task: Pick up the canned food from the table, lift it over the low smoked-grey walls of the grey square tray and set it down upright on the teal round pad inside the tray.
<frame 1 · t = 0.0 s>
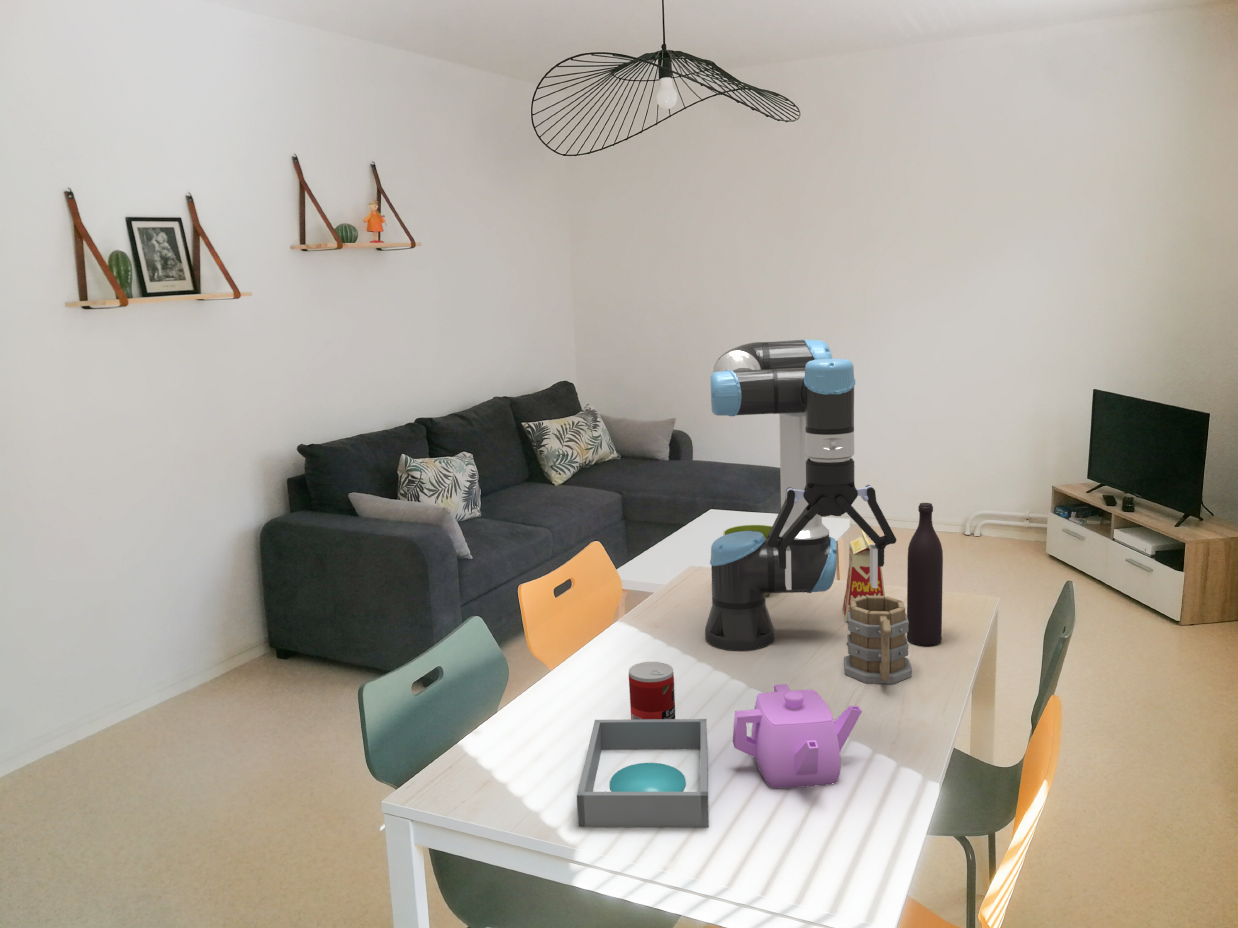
hand: (830, 586, 151), 28 cm above the table, tool pointing down, fingers open, 13 cm apart
grey square tray: (647, 783, 147), on the table
teakettle: (798, 767, 150), on the table
milk carton: (864, 617, 215), on the table
canned food: (653, 728, 166), on the table
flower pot: (754, 594, 234), on the table
tankard: (878, 679, 182), on the table
wine bottle: (924, 641, 199), on the table
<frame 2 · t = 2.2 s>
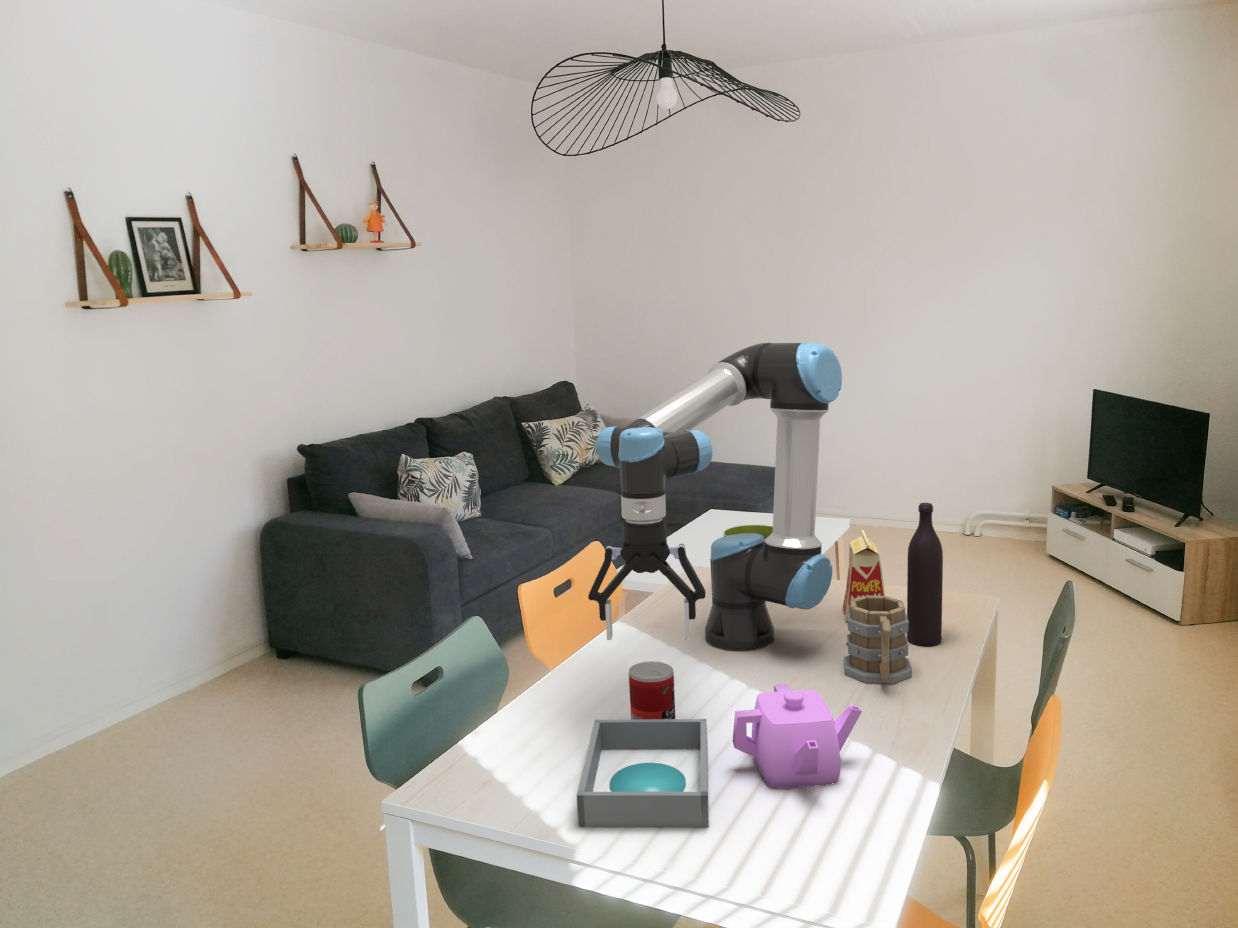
hand: (648, 637, 163), 17 cm above the table, tool pointing down, fingers open, 13 cm apart
nothing on the table moved.
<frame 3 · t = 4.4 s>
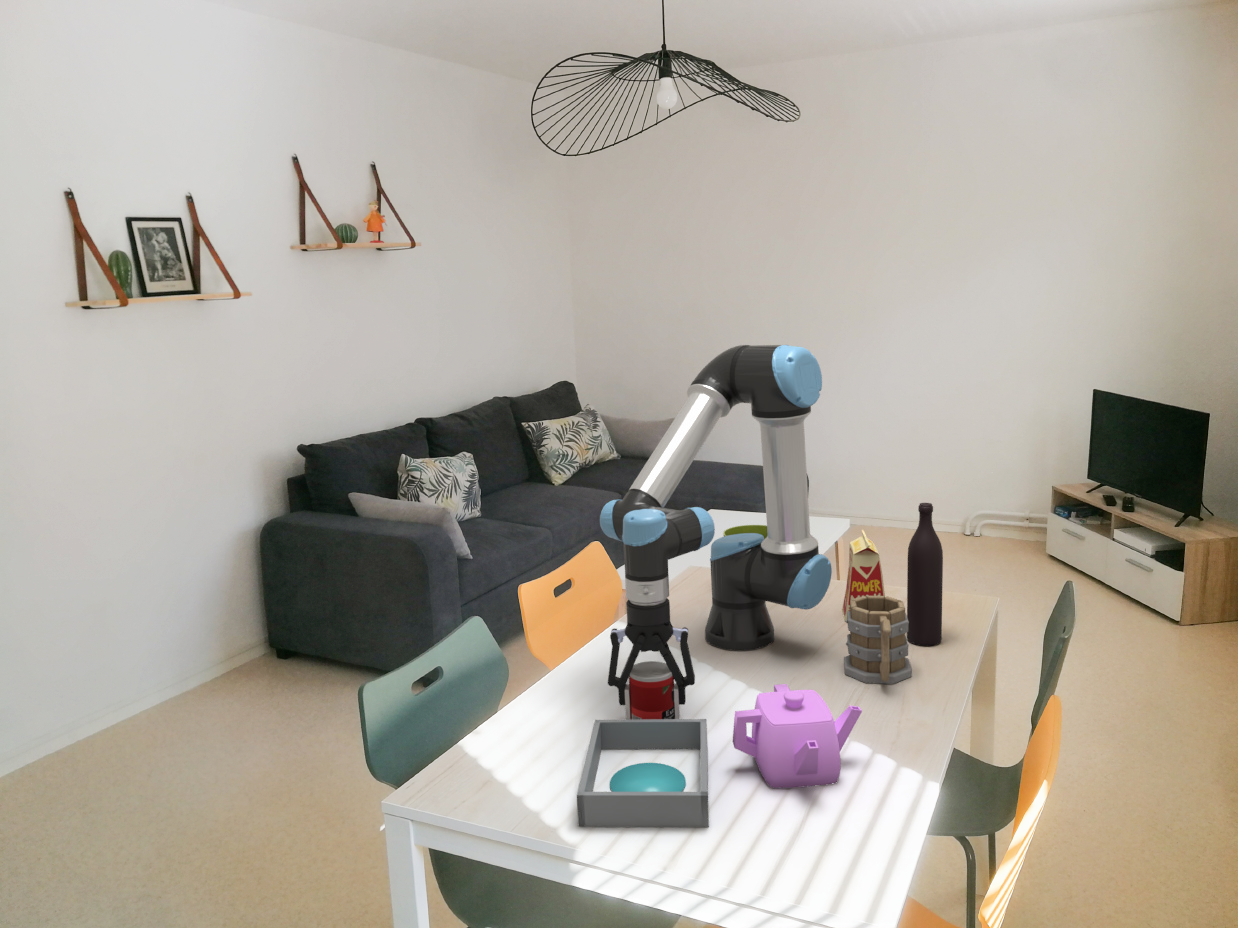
hand: (653, 720, 166), 1 cm above the table, tool pointing down, fingers closed on canned food, 8 cm apart
canned food: (653, 728, 166), on the table, touching gripper
everything else where it was.
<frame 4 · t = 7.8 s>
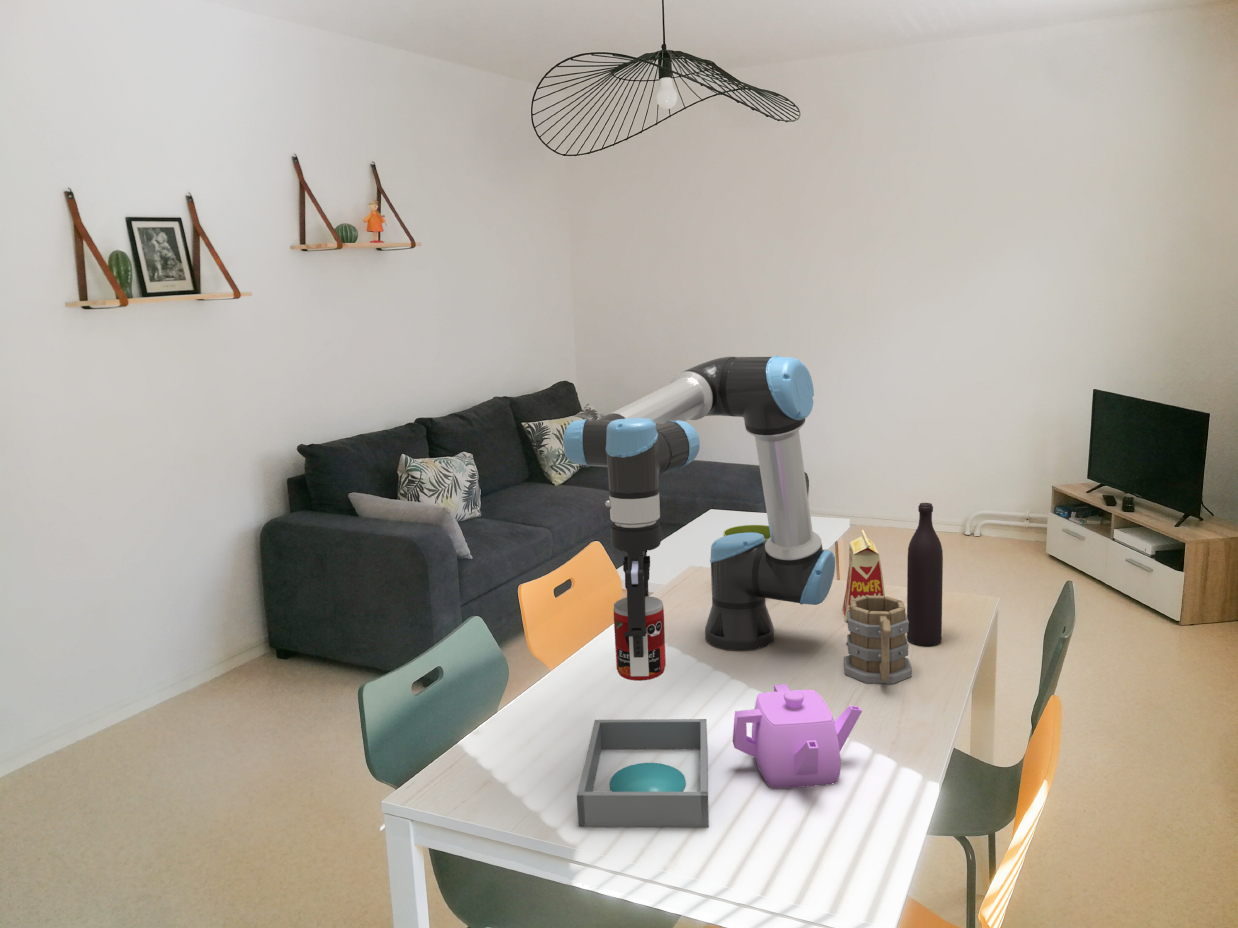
hand: (641, 663, 144), 20 cm above the table, tool pointing down, fingers closed on canned food, 8 cm apart
canned food: (641, 672, 145), point 18 cm above the table, touching gripper
everything else where it was.
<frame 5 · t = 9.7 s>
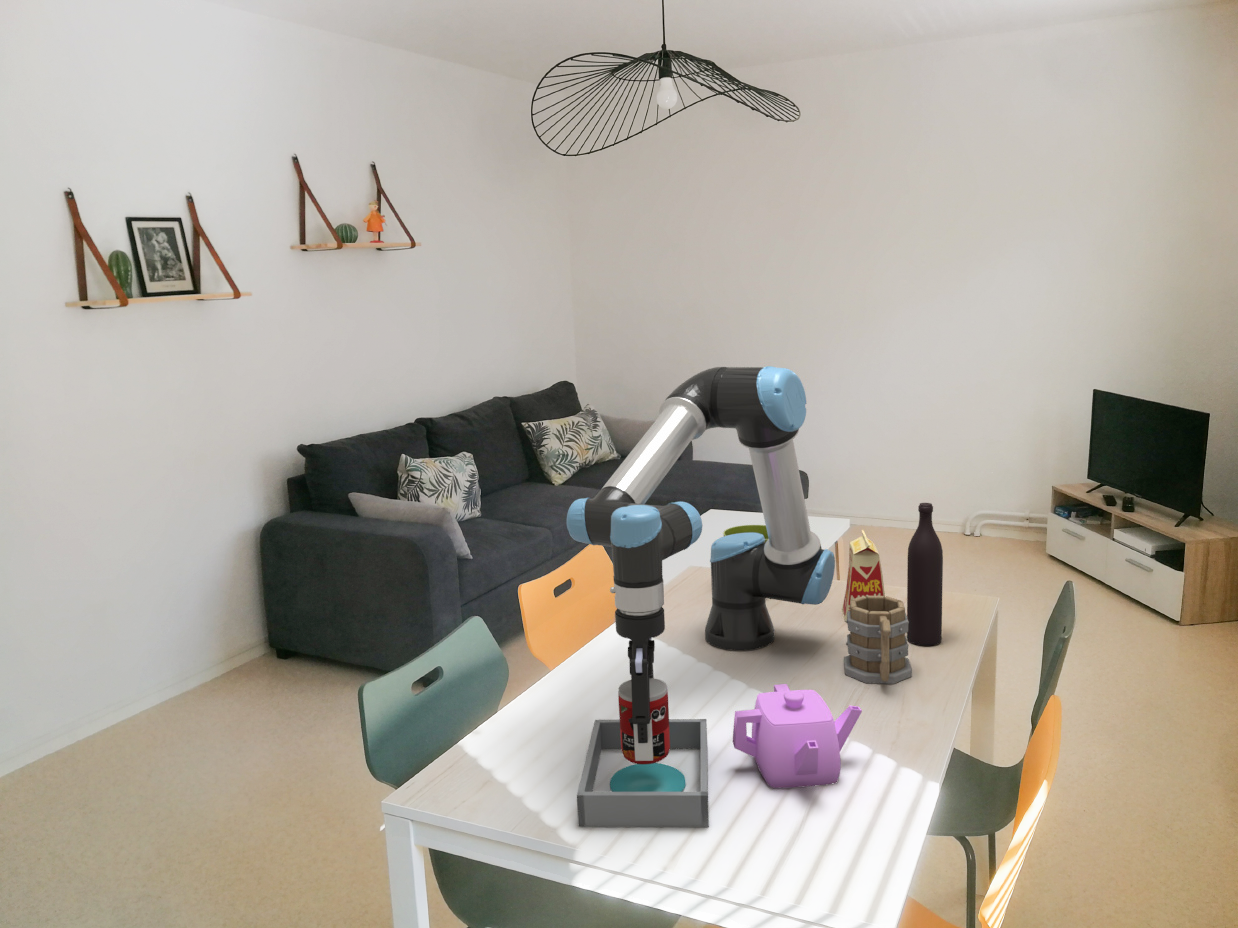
hand: (645, 745, 146), 7 cm above the table, tool pointing down, fingers closed on canned food, 8 cm apart
canned food: (645, 753, 146), point 5 cm above the table, touching gripper
everything else where it was.
when the fingers open (3 cm above the table, at t = 11.2 s): canned food drops 1 cm, resting on grey square tray.
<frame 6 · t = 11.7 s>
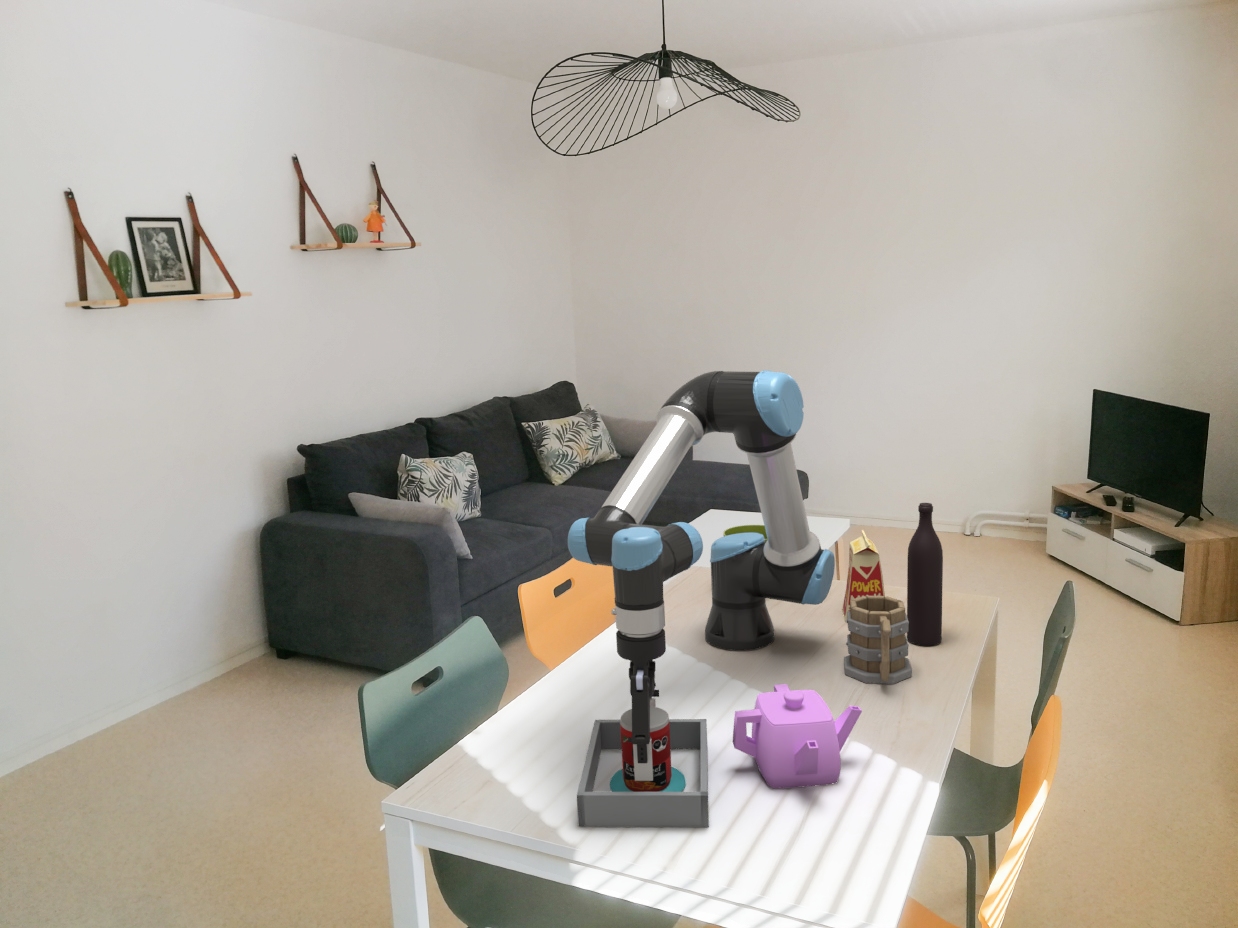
hand: (646, 757, 147), 5 cm above the table, tool pointing down, fingers open, 13 cm apart
canned food: (647, 782, 147), resting on grey square tray
everything else where it was.
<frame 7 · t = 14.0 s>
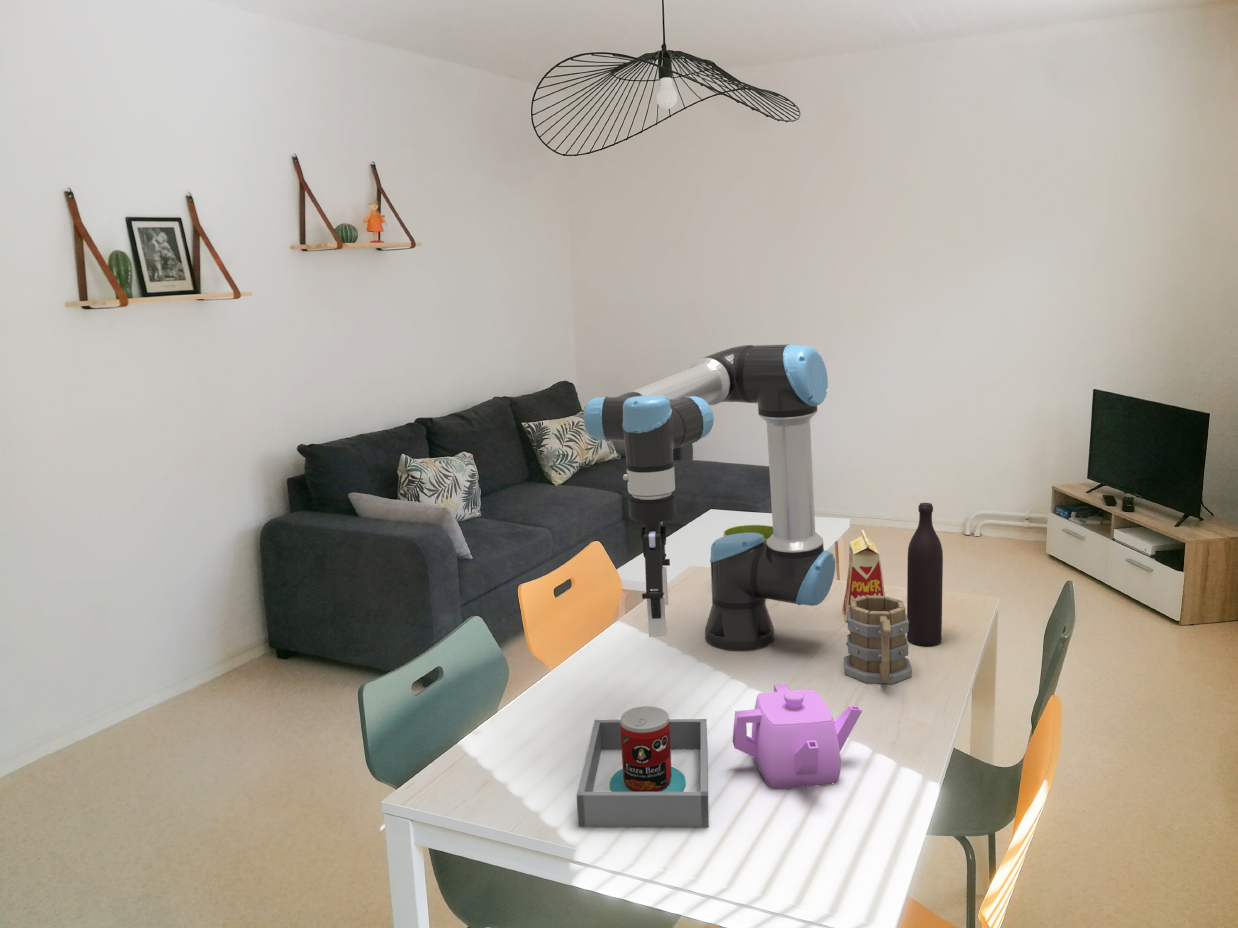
hand: (659, 619, 152), 24 cm above the table, tool pointing down, fingers open, 13 cm apart
nothing on the table moved.
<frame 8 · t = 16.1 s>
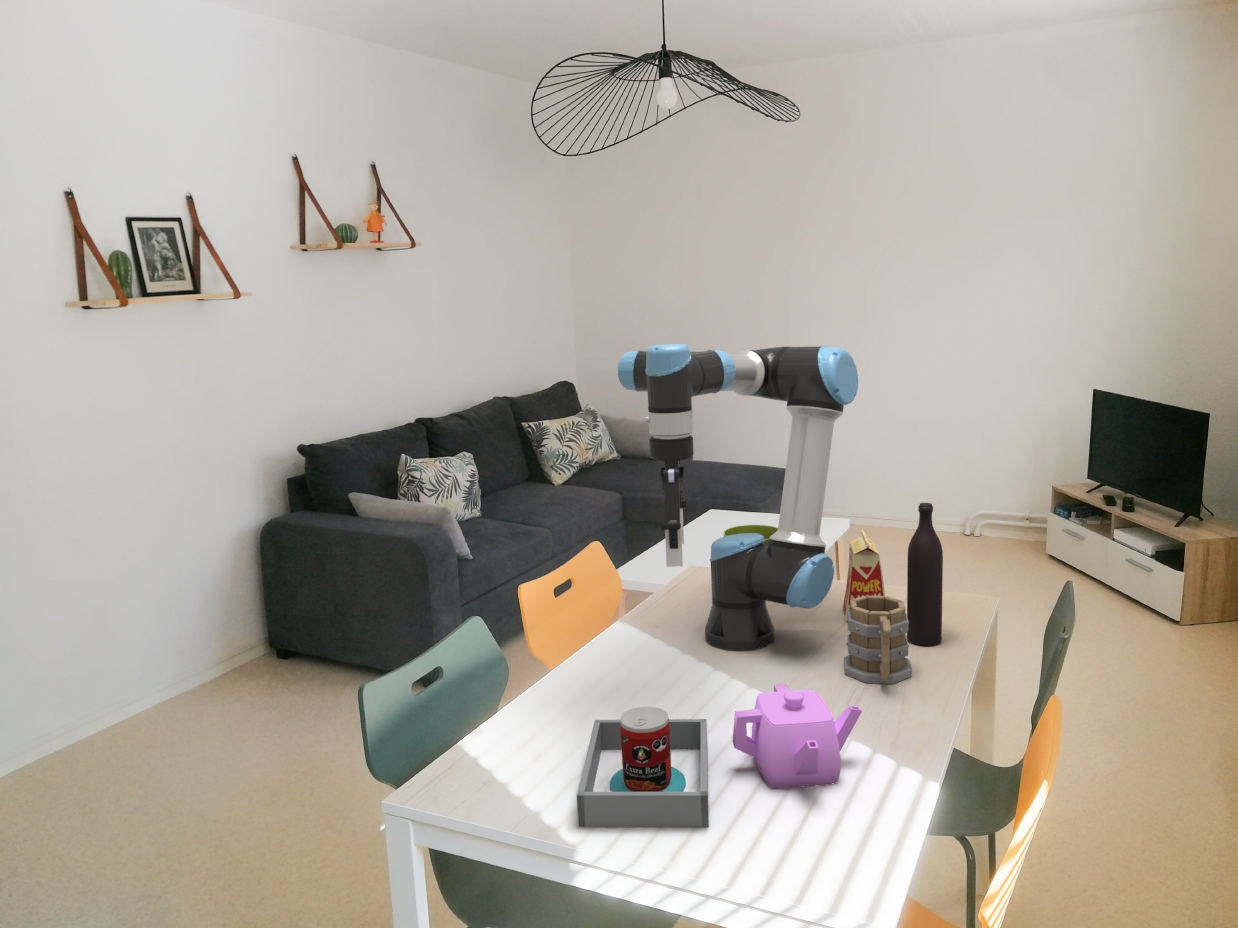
hand: (675, 554, 164), 31 cm above the table, tool pointing down, fingers open, 13 cm apart
nothing on the table moved.
at the end: canned food inside the target area on the grey square tray (0.0 cm from its centre), point 0.1 cm above the grey square tray's base; canned food tilted 0°; the gripper is holding nothing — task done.
